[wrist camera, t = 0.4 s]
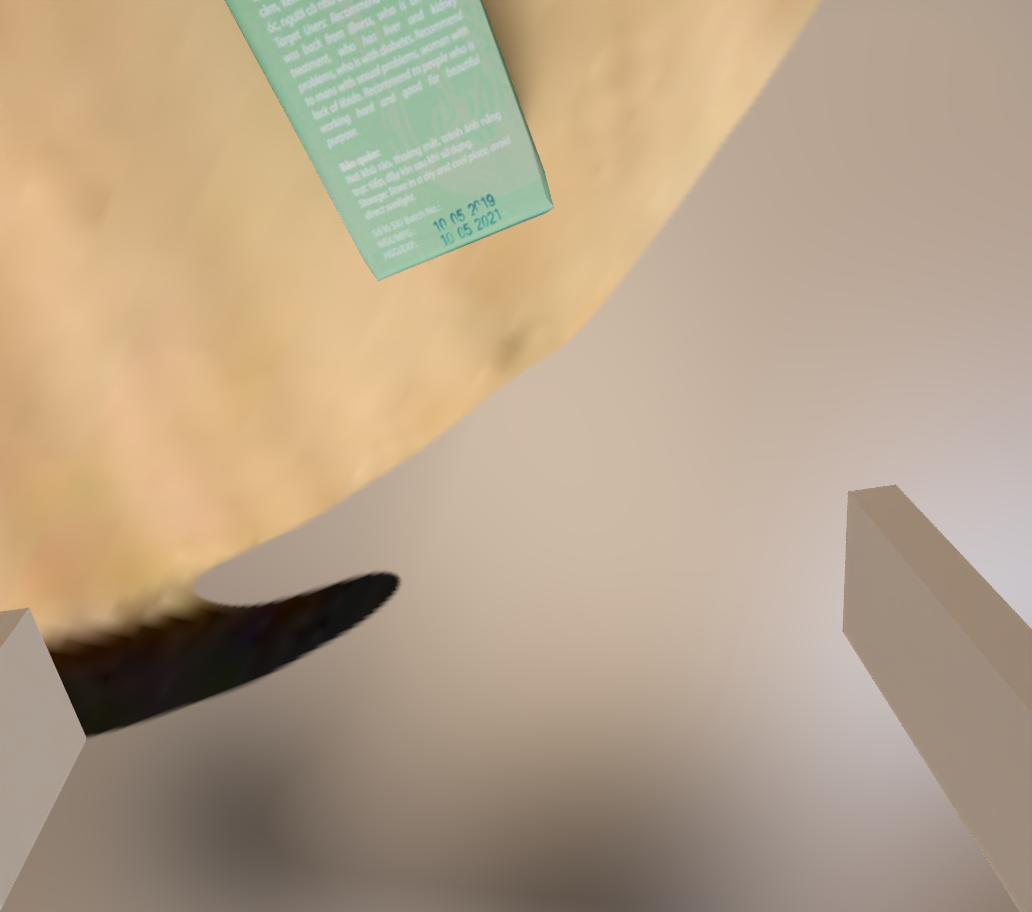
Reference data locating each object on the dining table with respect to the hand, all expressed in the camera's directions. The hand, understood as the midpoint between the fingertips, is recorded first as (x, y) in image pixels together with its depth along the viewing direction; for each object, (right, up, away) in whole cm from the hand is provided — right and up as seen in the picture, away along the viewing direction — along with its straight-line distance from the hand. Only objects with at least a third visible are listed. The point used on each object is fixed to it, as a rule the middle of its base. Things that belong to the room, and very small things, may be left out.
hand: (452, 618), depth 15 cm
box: (-4, +19, +20) cm, 28 cm away
